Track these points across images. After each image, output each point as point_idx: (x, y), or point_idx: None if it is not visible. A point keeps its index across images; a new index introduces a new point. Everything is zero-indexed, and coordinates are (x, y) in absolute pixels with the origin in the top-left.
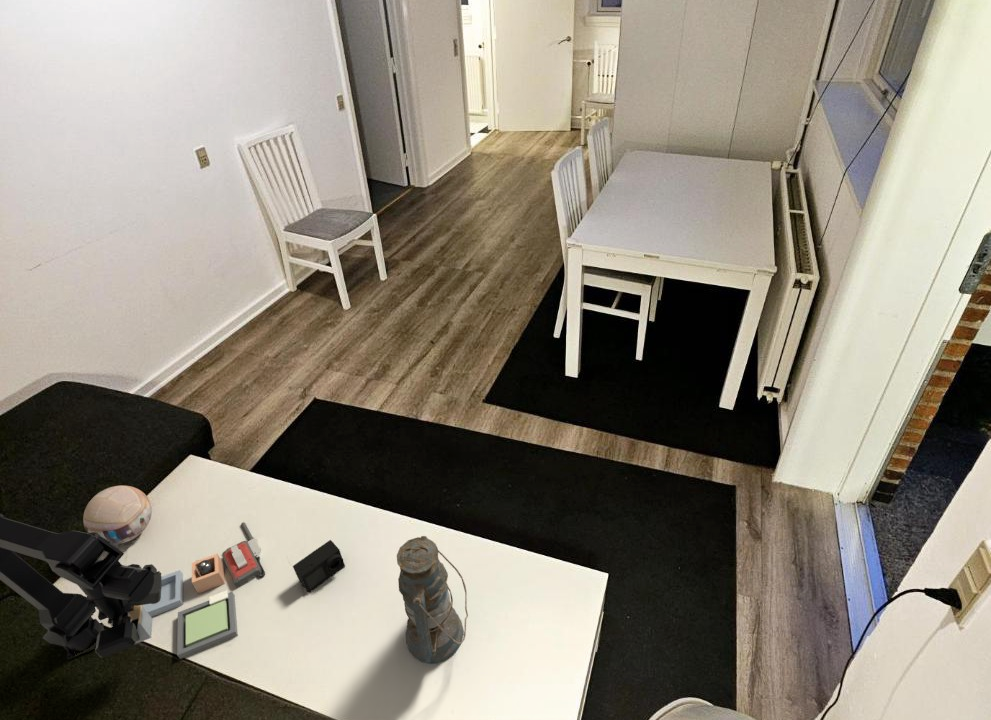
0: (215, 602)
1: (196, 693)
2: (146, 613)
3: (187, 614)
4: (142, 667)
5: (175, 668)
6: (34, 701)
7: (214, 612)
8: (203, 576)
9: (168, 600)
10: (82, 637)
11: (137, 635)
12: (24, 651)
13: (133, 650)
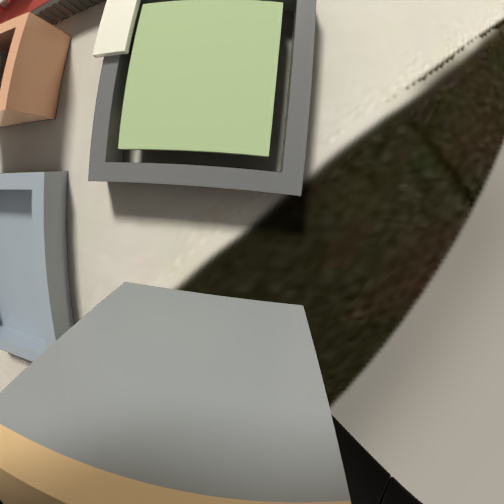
0: (130, 33)
1: (444, 166)
2: (86, 343)
3: (112, 147)
4: None
5: (317, 216)
6: None
7: (173, 37)
8: (7, 65)
9: (31, 220)
10: None
11: (344, 438)
12: None
13: None
